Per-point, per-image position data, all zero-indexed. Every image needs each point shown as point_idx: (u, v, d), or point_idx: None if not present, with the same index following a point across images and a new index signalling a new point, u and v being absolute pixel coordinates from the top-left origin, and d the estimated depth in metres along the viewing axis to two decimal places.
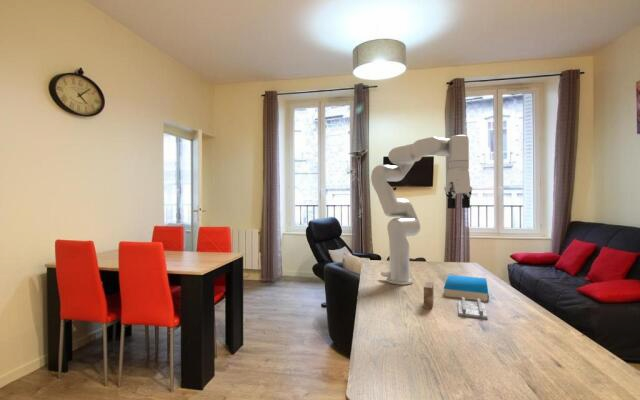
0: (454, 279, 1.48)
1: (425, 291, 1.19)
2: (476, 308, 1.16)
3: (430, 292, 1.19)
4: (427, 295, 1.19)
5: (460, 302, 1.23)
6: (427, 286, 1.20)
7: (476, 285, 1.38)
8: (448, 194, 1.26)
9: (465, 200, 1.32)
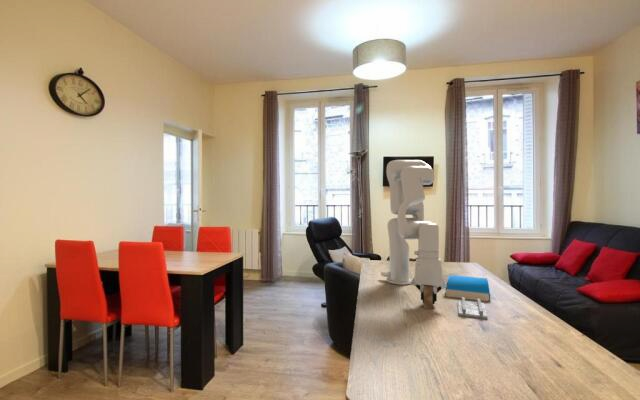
0: (455, 279, 1.48)
1: (425, 291, 1.19)
2: (476, 308, 1.16)
3: (430, 292, 1.19)
4: (427, 295, 1.19)
5: (460, 302, 1.23)
6: (427, 286, 1.20)
7: (477, 285, 1.37)
8: (440, 289, 1.21)
9: None
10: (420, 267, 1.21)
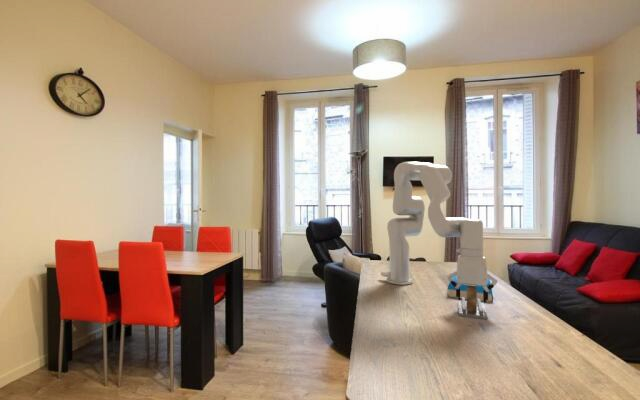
0: None
1: (469, 293, 1.13)
2: None
3: (474, 294, 1.13)
4: (471, 297, 1.13)
5: (460, 302, 1.23)
6: (471, 287, 1.15)
7: None
8: None
9: None
10: (463, 265, 1.15)
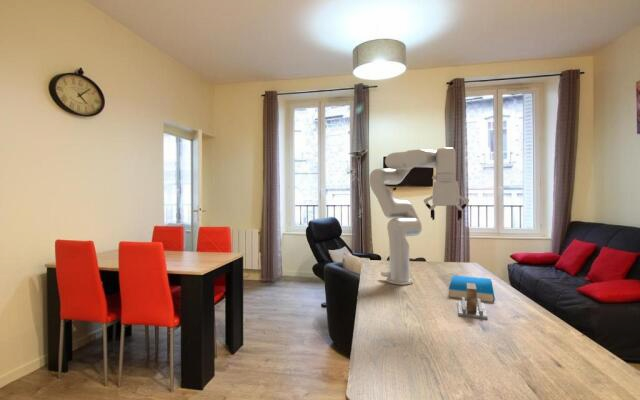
0: (459, 280, 1.47)
1: (469, 293, 1.13)
2: None
3: (474, 294, 1.13)
4: (471, 297, 1.13)
5: (460, 302, 1.23)
6: (471, 287, 1.15)
7: (481, 286, 1.37)
8: (465, 206, 1.28)
9: (434, 212, 1.32)
10: (438, 189, 1.29)
